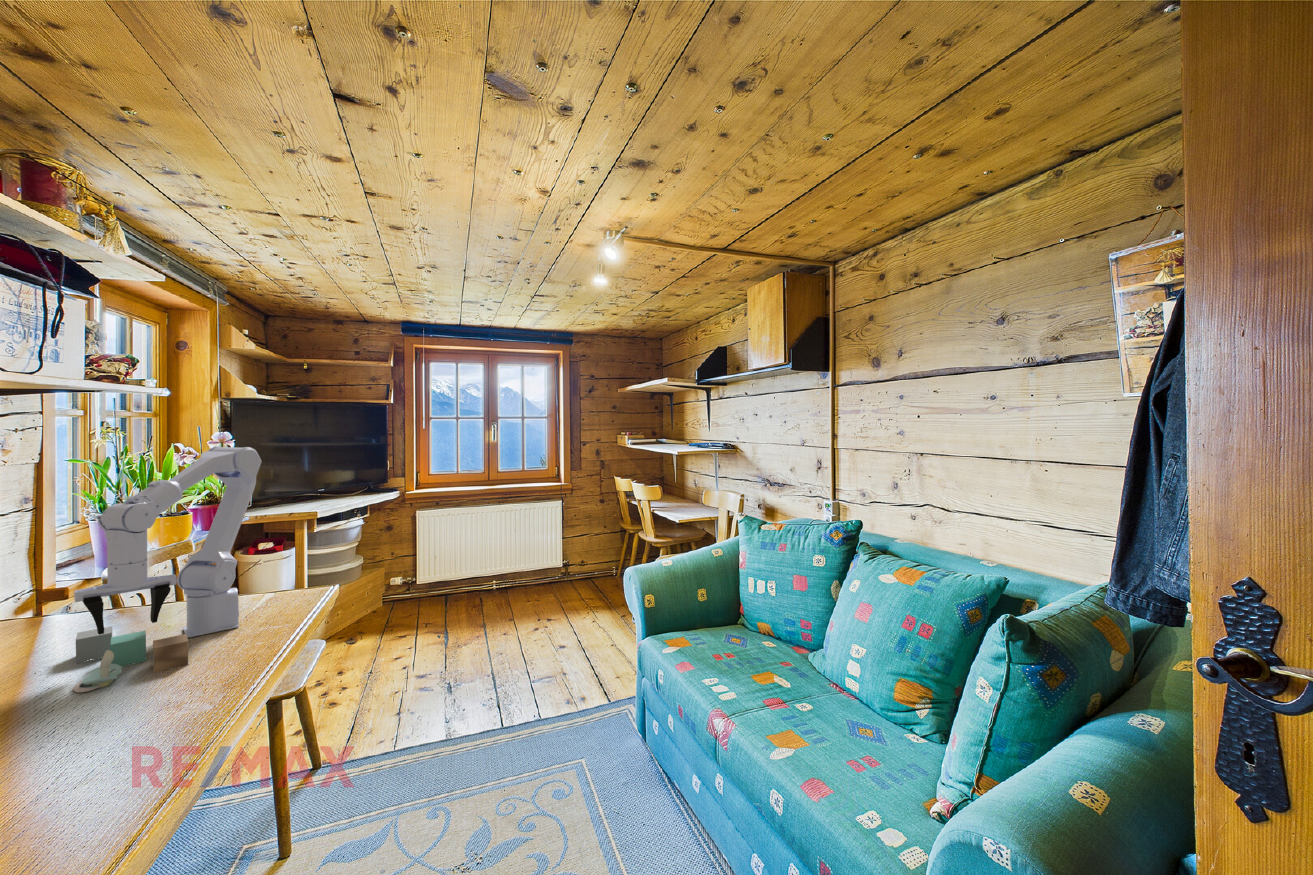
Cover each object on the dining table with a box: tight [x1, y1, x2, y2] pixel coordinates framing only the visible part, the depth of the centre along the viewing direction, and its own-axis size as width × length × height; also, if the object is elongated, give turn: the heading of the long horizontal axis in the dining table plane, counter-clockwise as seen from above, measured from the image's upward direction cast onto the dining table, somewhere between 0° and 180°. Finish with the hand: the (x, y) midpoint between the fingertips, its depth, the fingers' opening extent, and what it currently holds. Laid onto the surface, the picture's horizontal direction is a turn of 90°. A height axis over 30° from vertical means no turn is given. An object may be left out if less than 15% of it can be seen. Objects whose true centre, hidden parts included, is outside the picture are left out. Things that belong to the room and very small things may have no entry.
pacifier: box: [72, 650, 123, 693], centre depth 96 cm, size 7×6×6 cm
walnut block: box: [152, 633, 189, 674], centre depth 104 cm, size 5×5×5 cm
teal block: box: [110, 630, 147, 667], centre depth 106 cm, size 5×5×5 cm
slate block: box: [75, 625, 113, 664], centre depth 107 cm, size 5×5×5 cm
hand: (128, 626), depth 105 cm, fingers open, 7 cm apart
